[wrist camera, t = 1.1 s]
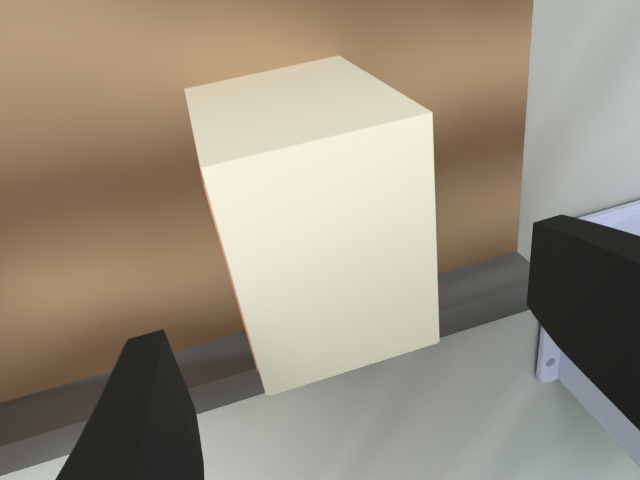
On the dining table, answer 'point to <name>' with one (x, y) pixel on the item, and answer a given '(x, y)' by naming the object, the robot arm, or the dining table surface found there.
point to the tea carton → (321, 215)
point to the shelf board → (187, 186)
